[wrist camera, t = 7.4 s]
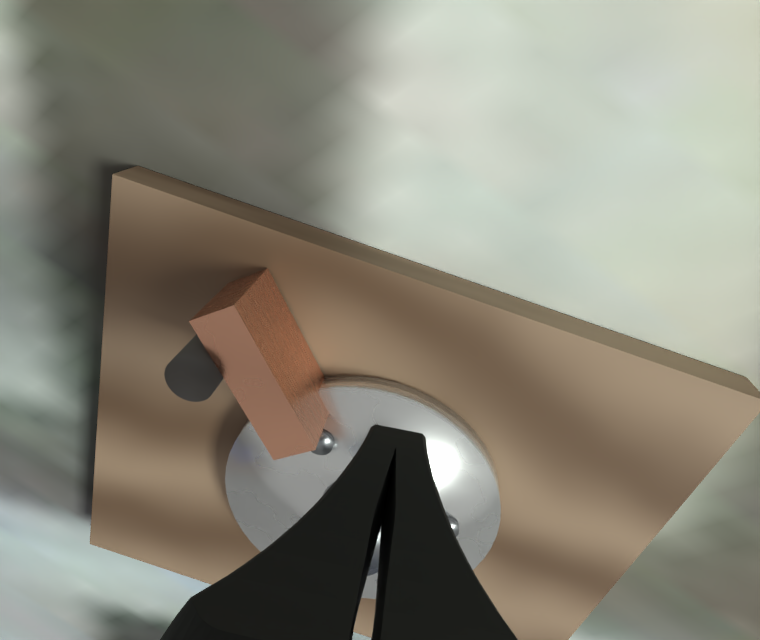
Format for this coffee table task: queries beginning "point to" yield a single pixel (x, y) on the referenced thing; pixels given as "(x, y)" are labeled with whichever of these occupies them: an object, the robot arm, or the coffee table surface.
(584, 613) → the base board
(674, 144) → the coffee table surface
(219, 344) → the flange plate
